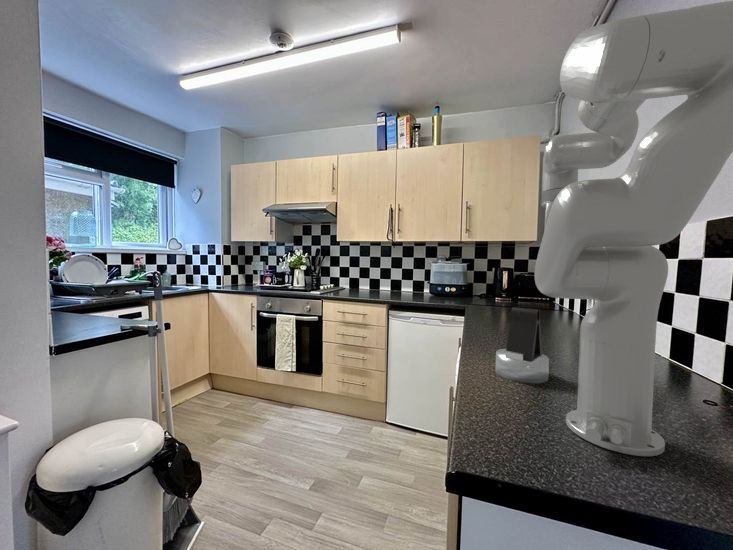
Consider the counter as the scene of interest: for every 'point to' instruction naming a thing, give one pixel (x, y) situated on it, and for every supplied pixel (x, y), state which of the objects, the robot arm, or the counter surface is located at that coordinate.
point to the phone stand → (525, 333)
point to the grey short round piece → (521, 367)
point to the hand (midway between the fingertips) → (556, 267)
